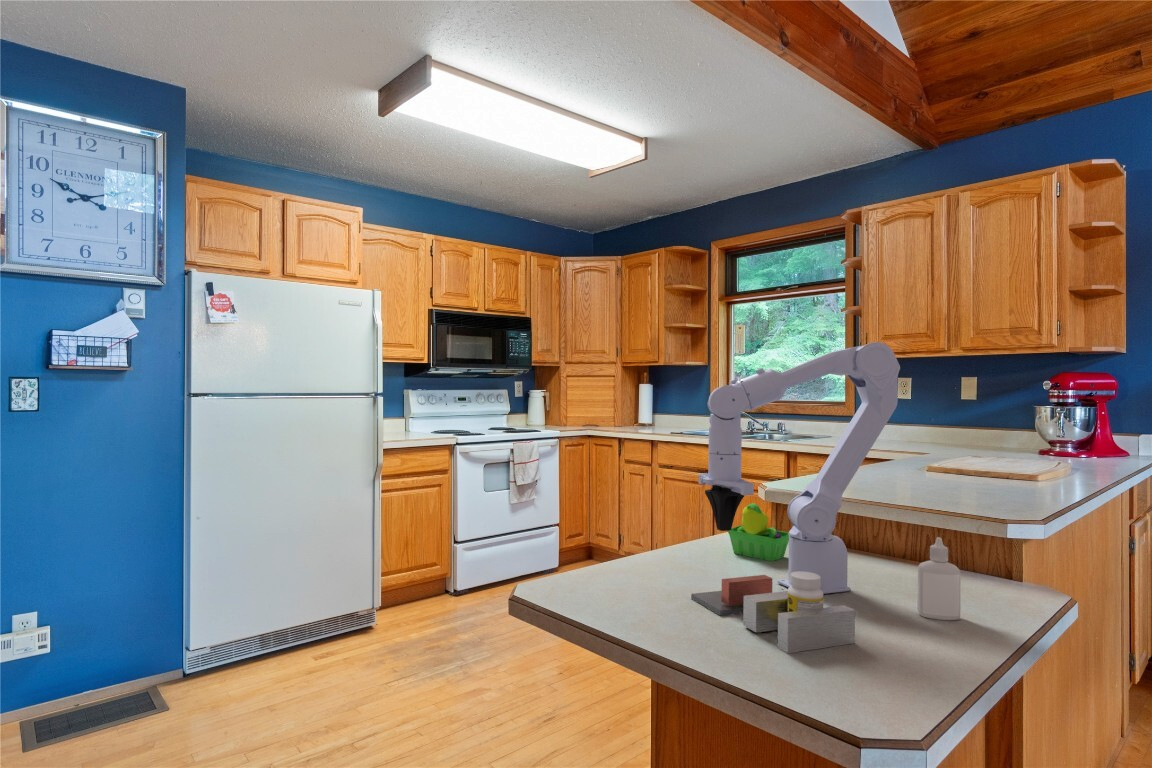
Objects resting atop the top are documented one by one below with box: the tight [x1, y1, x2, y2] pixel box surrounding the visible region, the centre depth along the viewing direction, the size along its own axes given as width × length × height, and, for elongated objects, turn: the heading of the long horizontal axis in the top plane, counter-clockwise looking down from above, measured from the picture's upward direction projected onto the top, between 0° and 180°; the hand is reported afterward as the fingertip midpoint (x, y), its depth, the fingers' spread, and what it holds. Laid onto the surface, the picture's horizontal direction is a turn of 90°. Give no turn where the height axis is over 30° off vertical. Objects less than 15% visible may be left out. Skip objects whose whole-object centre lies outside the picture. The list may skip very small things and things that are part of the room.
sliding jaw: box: [721, 574, 788, 633], centre depth 97 cm, size 11×11×4 cm
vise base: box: [690, 590, 744, 617], centre depth 103 cm, size 12×8×1 cm
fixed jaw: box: [777, 604, 856, 654], centre depth 86 cm, size 11×2×4 cm, turn 110°
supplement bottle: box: [787, 571, 824, 612], centre depth 90 cm, size 5×5×8 cm
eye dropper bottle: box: [917, 536, 961, 621], centre depth 99 cm, size 4×6×12 cm
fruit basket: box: [727, 503, 789, 562], centre depth 135 cm, size 11×9×11 cm
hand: (724, 530), depth 115 cm, fingers closed
